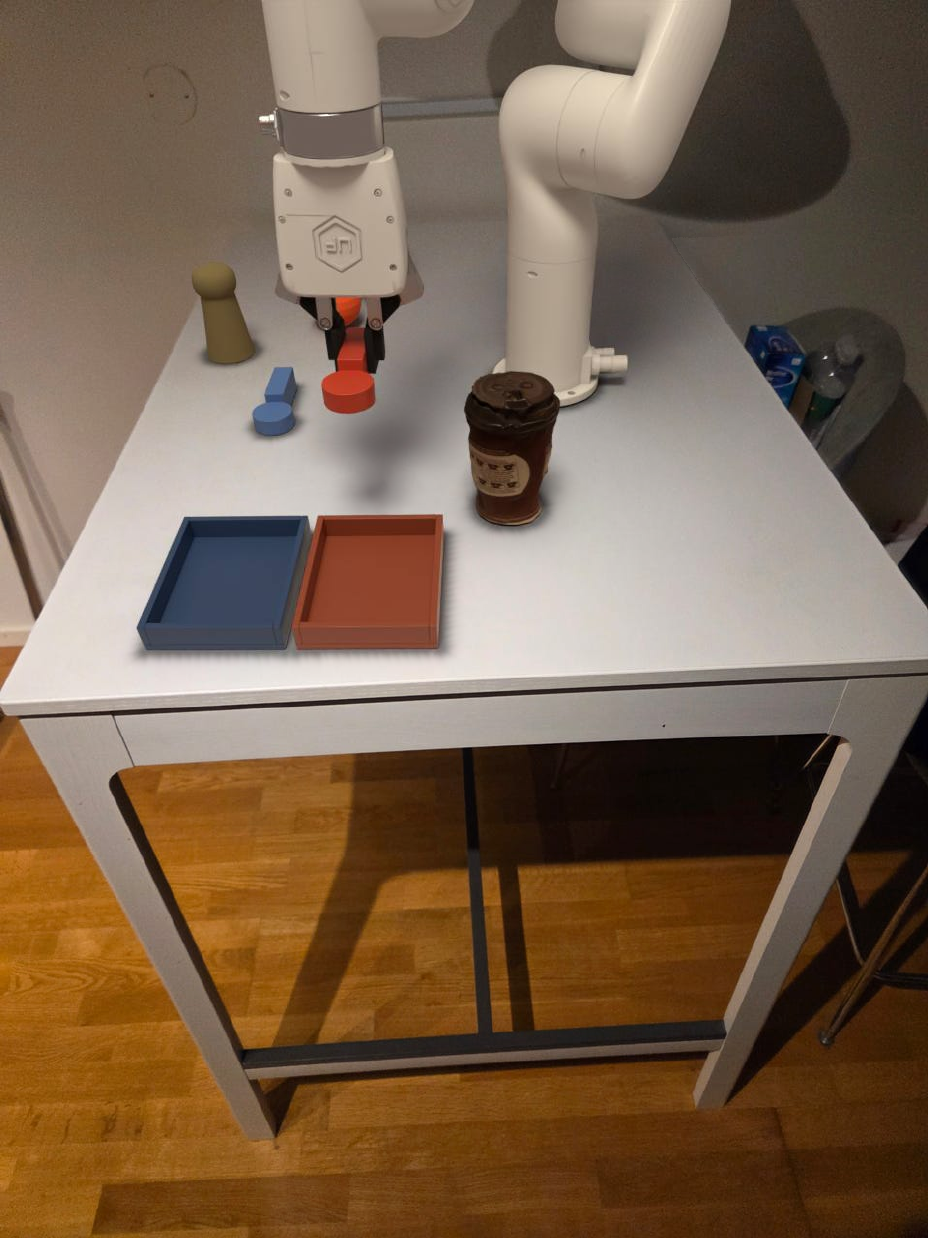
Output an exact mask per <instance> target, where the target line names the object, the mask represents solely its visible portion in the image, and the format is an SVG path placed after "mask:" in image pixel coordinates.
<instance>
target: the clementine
mask: <svg viewBox="0 0 928 1238" xmlns="http://www.w3.org/2000/svg"><path fill="white" fill-rule="evenodd" d="M336 301H337V311H338V312H339V313H340V316H342V319H344V320H345V327H347V326H349V325H351V324H352V323H353V322H354V321H355V320H356V319H357V318H358V315H359V314H360V311H361V308H362V298H336Z"/></svg>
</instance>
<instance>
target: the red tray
mask: <svg viewBox="0 0 928 1238" xmlns="http://www.w3.org/2000/svg"><path fill="white" fill-rule="evenodd" d="M444 532H445V531H444V515H443V514H442V513H440V514H439V513H437V514H435V513H434V514H431V513H429V514H427V513H425V514H423V513H421V514H417V513H416V514H332V515H331V514H330V515H329V514H328V515H321V514H319V515H317V517H316V521H315V525H314V530H313V534H312V540H311V544H310V548H309V553H308V557H307V561H306V565H305V569H304V574H303V578H302V582H301V586H300V590H299V595H298V599H297V603H296V607H295V611H294V615H293V620H292V624H291V631H292V636H293V639H294V643H295V647H296V650H348V649H349V650H355V649H357V650H361V649H362V650H363V649H364V650H369V649H370V650H371V649H375V650H376V649H380V650H381V649H383V650H384V649H391V650H392V649H397V650H398V649H439V639H440V638H439V636H440V620H441V619H440V616H441V598H442V581H443V580H442V579H443V560H444V559H443V558H444V538H445V533H444Z"/></svg>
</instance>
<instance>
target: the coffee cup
mask: <svg viewBox="0 0 928 1238" xmlns="http://www.w3.org/2000/svg"><path fill="white" fill-rule="evenodd" d="M554 392H555V389H554V387H553V385H552V384H551V383H550V382H549V381H548V380H547V379H546V378H544V377H542V376H540V375H537V374H534V373H530V372H516V371H509V372H505V373H495V374H492V373H487V374H484V375H481V376H479V377H478V378H477V379H475V381H474V383H473V385H472V386H471V390H470V392H469V393H468V394H467V396H466V399H465V403H464V408H463V413H464V415H465V420H466V423H467V425H468V428H469V431H468V436H467V443H468V453H469V459H470V473H471V478H472V482H473V485H474V487H475V488H476V504H475V507H476V510H477V513H478V514H479V515H480V516H481V517H482V518H484V519H486V520H487V521H489V522H492V523H495V524H499V525H506V526H510V525H516V526H517V525H519V526H520V525H522V524H526V523H531V522H533V521H534V520H535V519H536V518H537V517H538V516H539V515H540V513H541V511H542V501H541V500H540V498H539V494H540V493H539V492H540V489H541V487H542V483H543V481H544V478H545V476H546V475H547V474H548V472H549V470H550V469H549V463H550V459H551V456H552V449H553V434H554V428H555V425H556V423H557V419H558V415H559V412H560V407H561V406H560V400H559V398H558V397H557V396H556V395H555V394H554Z"/></svg>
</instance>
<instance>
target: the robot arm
mask: <svg viewBox="0 0 928 1238" xmlns="http://www.w3.org/2000/svg"><path fill="white" fill-rule="evenodd" d="M260 1H261V9H262V14H263V21H264V28H265V34H266V42H267V47H268V55H269V60H270V62H269V63H270V67H271V74H272V81H273V88H274V94H275V101H276V106H275V107H274V110H273V111H269V113H260V114H259V129H260V132H261V134H262V135H263V136H271V137H273V138H277V142H279V147H280V150H279V151H278V152H277V153H276V154H275V155H273V159H272V160H273V161H272V196H273V214H274V225H275V236H276V245H277V255H278V256H277V257H278V263H279V264H278V265H279V273H278V277H277V281H276V284H275V288H274V294H275V295H276V296H277V297H278V298H280V299H282V300H284V301H287V302H290V303H292V304H294V305H298V306H300V307H301V308H302V309H303V310H304V311H305V312H306V313H307V314H308V315H310V316H311V317H312V318H313V319H314V320H315V321H317V324H318V326H319V328H321V329H322V330H324V331H323V332H324V338H325V346H326V353H327V359H328V361H334V362H333V363H334V369H335V372H337V371H338V363H337V358H338V355H339V352H340V349H341V348H342V345H343V342H344V339H345V336H346V331H347V328H346V326H345V320H344V319H342V316H340V313H339V312H338V311H337V301H336V298H361V299H363V298H364V299H365V304H366V311H367V313H366V314H367V317H366V320H365V325H364V327H365V329H364V343H365V350H366V358H367V367H368V372H370V375H376V374H377V371H378V367H379V363H380V361H385V359H386V344H385V342H386V341H385V332H384V331H385V330H384V324H385V323H386V322H387V321H388V320H389V319H390V318H391V317H392V315H393V314H394V313H396V312H397V310H398V309H399V308H400V307H402V306H405V305H408V304H410V303H412V302H414V301H416V300H419V299H421V298H422V297H423V295H424V291H425V285H424V281H423V280H422V279H421V276H420V274H419V272H418V270H417V268H416V266H415V264H414V262H413V260H412V258H411V255H410V244H409V243H410V242H409V234H408V225H407V217H406V207H405V201H404V196H403V195H404V194H403V188H402V183H401V177H400V172H399V168H398V164H397V160H396V156H395V153H394V149H393V148H392V147H390V146H387V145H385V130H384V129H385V128H384V116H383V103H382V90H381V77H380V75H381V74H380V64H379V63H380V61H379V47H378V46H379V45H378V44H379V41H380V40H381V39H382V38H397V37H398V38H413V39H431V38H434V37H438V36H442V35H444V34H446V33H447V32H450V31H452V30H453V29H454V28H456V27H458V25H459V24H460V23H461V22H462V21H463V20H464V19H465V18H466V17H467V15H468V14H469V12H470V11H471V9H472V7H473V5H474V3H475V1H476V0H260ZM731 6H732V0H557V3H556V9H555V14H554V31H555V35H556V38H557V41H558V44H559V45H560V47H561V48H562V49H563V50H564V51H565V52H566V53H567V54H568V55H570V56H571V57H573V58H575V59H577V60H579V61H583V62H587V63H589V64H595V65H599V66H605V67H612V68H619V69H627V70H632V71H633V70H634V73H633V75H628V74H621V73H613V72H607V71H601V70H598V69H592V68H584V67H578V66H571V65H563V64H562V65H561V64H544V65H538V66H535V67H531V68H529V69H527V70H525V71H523V72H521V73H520V74H519V75H518V76H516V77H515V79H514V80H513V81H512V82H511V83H510V84H509V85H508V88H507V90H506V91H505V92H504V95H503V98H502V100H501V104H500V108H499V114H498V123H497V127H498V128H497V132H498V144H499V151H500V157H501V162H502V169H503V174H504V181H505V191H506V192H505V193H506V206H507V207H506V209H507V243H506V244H507V247H506V297H505V298H506V301H505V302H506V306H505V311H506V312H505V357H504V358H502V359H501V360H500V361H499V362H498V363H496V365H495V366H494V368H493V369H492V373H491V374H495V373H505V372H509V371H516V372H530V373H534V374H537V375H540V376H542V377H544V378H546V379H547V380H548V381H549V382H550V383H551V384H552V385H553V387H554V389H555V392H554V394H555V395H556V396H557V397H558V398H559V400H560V407H565V406H570V405H573V404H574V405H575V404H577V403H579V402H582V401H583V400H585V399H587V398H589V397H590V396H592V394H593V393H595V391H596V389H597V388H598V382H599V375H600V373H606V372H607V373H627V370H628V362H629V361H628V355H627V354H615V348H614V347H603V348H595V346H594V345H591V342H590V337H589V336H590V327H591V317H592V316H591V315H592V305H593V294H594V283H595V271H596V262H597V250H598V242H599V220H598V213H597V209H596V205H595V202H594V199H593V198H594V197H593V196H592V193H595V194H599V195H603V196H607V197H613V198H618V199H624V200H637V199H640V198H644V197H646V196H647V195H649V194H650V193H652V192H653V191H654V190H655V189H656V188H657V187H658V186H659V184H660V183H661V182H662V180H663V179H664V177H665V175H666V174H667V172H668V170H669V168H670V166H671V164H672V162H673V160H674V157H675V155H676V154H677V151H678V149H679V147H680V144H681V142H682V140H683V137H684V135H685V132H686V131H687V128H688V125H689V123H690V120H691V118H692V116H693V113H694V111H695V109H696V106H697V104H698V102H699V99H700V97H701V94H702V92H703V90H704V88H705V85H706V82H707V80H708V78H709V75H710V73H711V71H712V69H713V66H714V63H715V61H716V59H717V56H718V54H719V51H720V48H721V45H722V43H723V40H724V37H725V34H726V30H727V27H728V21H729V18H730V12H731Z"/></svg>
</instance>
